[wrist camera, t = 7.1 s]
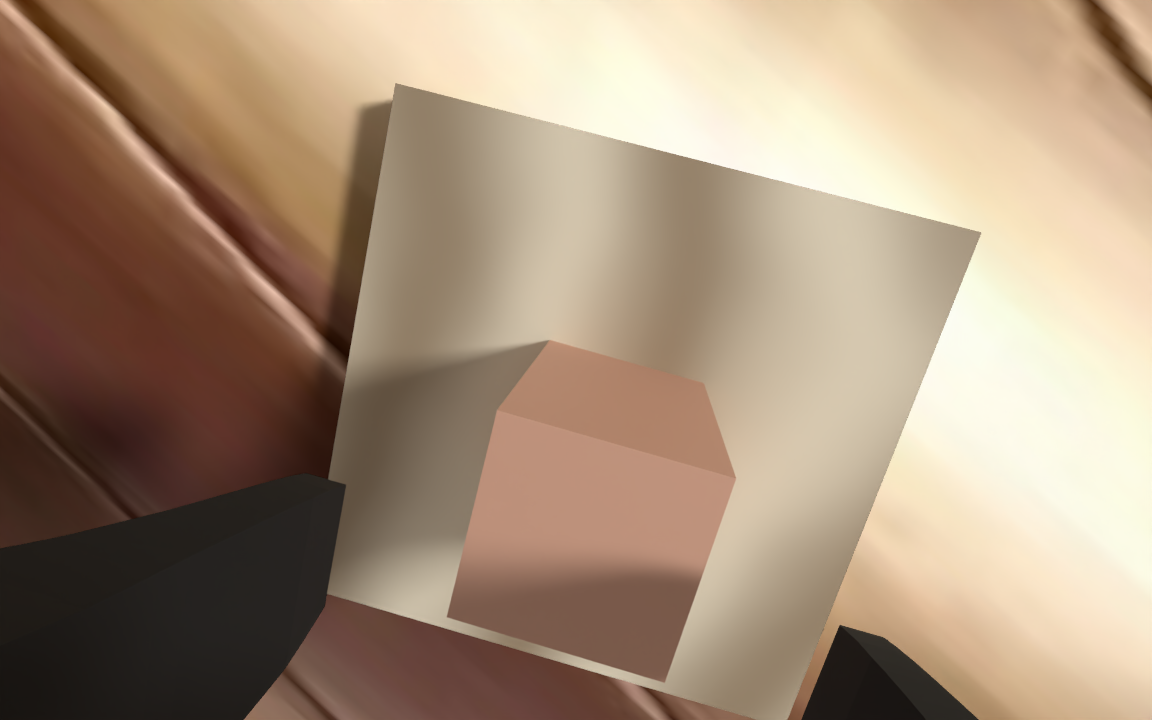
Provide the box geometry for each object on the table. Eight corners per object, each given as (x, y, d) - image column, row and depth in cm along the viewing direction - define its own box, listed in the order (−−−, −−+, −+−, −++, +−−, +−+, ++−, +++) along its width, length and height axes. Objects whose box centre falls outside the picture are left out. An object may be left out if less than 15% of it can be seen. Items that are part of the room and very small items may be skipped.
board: (333, 561, 20) (309, 588, 19) (417, 94, 17) (395, 82, 15) (773, 689, 20) (784, 727, 18) (951, 230, 16) (981, 232, 15)
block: (513, 481, 17) (446, 616, 12) (549, 340, 16) (497, 409, 11) (658, 523, 17) (664, 682, 11) (703, 383, 16) (736, 478, 10)
